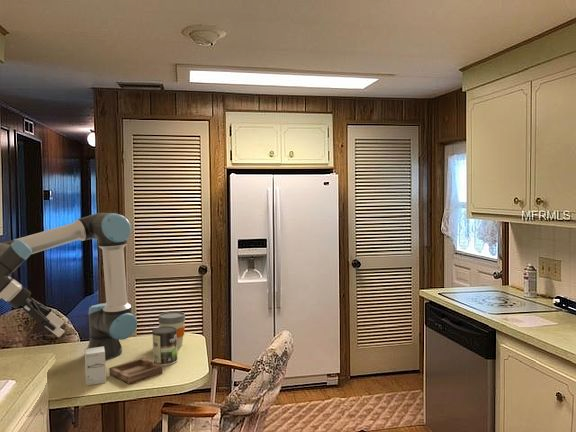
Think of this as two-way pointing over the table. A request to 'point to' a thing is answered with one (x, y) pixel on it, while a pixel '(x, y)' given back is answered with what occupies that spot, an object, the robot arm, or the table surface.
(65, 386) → the table surface
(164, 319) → the reusable coffee cup
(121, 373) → the walnut tray
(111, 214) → the robot arm
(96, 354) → the supplement box
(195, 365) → the table surface
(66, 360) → the table surface
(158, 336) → the coffee can
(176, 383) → the table surface
